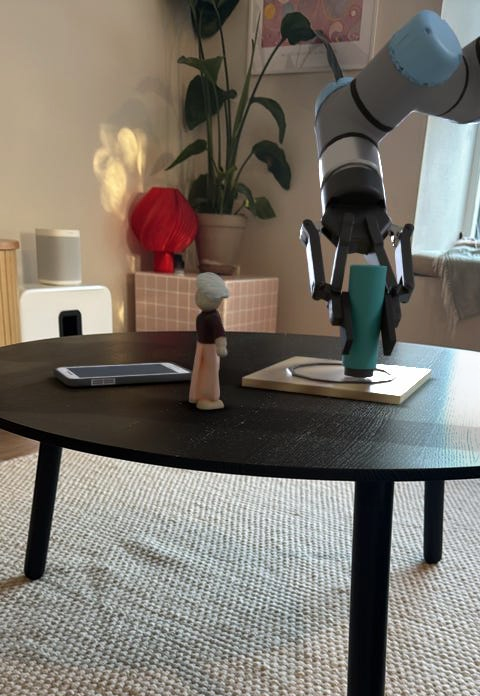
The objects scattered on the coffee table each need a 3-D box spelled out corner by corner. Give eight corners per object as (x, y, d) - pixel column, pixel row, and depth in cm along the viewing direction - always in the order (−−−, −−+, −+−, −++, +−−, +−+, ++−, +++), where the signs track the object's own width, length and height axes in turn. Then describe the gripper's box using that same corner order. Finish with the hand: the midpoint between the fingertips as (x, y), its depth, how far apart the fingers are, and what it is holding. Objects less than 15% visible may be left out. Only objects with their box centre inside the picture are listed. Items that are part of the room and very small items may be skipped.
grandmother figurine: (173, 399, 77) (173, 269, 73) (206, 396, 79) (208, 269, 74) (208, 415, 71) (211, 275, 67) (243, 412, 73) (248, 275, 68)
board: (430, 377, 94) (431, 368, 94) (399, 404, 78) (401, 393, 78) (294, 363, 100) (295, 354, 100) (241, 386, 85) (241, 375, 85)
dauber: (379, 374, 88) (390, 266, 84) (371, 379, 84) (382, 267, 80) (346, 370, 89) (355, 264, 85) (336, 375, 86) (345, 265, 81)
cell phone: (196, 381, 86) (196, 372, 86) (68, 388, 80) (67, 379, 79) (171, 369, 92) (171, 361, 92) (51, 375, 86) (51, 366, 86)
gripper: (412, 215, 95) (434, 369, 86) (278, 210, 94) (286, 366, 85) (429, 166, 88) (456, 328, 79) (286, 160, 87) (296, 323, 78)
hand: (368, 347), depth 82 cm, fingers closed on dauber, 4 cm apart
